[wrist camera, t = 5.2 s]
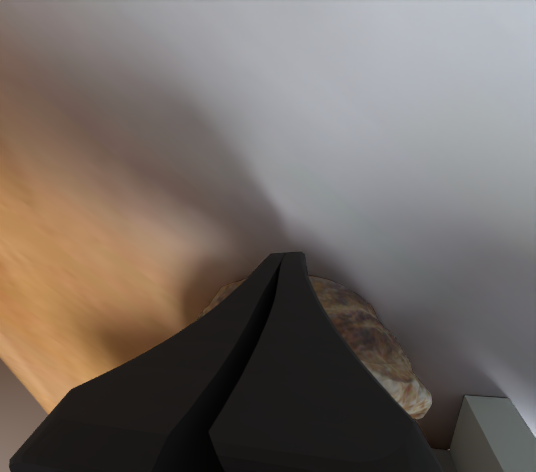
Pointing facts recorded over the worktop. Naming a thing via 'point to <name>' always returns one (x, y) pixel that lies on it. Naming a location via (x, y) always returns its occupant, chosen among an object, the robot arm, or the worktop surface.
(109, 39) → the worktop surface
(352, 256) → the worktop surface
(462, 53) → the worktop surface
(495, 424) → the shelf
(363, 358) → the oyster shell
